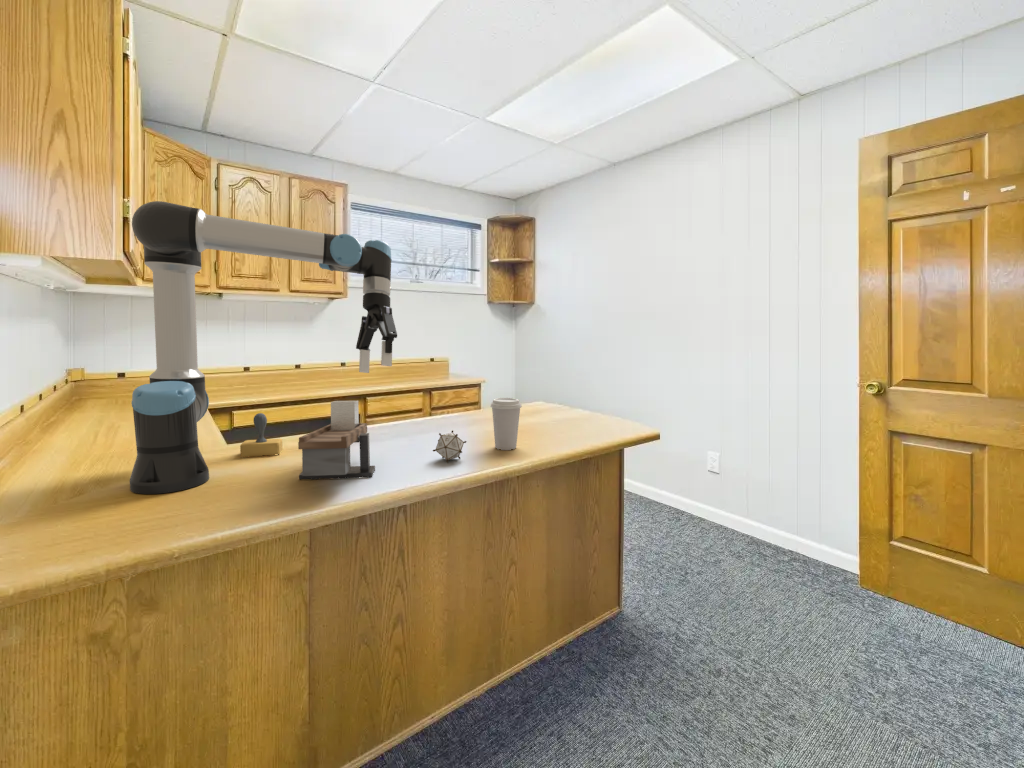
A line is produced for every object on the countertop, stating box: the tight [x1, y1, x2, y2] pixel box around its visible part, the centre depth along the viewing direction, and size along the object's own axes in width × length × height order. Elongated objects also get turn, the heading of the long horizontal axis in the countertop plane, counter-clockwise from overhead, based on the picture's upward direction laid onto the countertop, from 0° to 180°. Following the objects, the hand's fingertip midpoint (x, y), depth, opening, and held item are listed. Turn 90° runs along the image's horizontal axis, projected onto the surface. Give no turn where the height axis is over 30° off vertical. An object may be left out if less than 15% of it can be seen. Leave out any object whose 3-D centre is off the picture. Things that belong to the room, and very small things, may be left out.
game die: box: [432, 429, 467, 464], centre depth 135 cm, size 9×8×10 cm
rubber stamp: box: [239, 412, 284, 458], centre depth 139 cm, size 10×6×12 cm, turn 106°
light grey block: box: [330, 400, 360, 431], centre depth 130 cm, size 6×6×8 cm
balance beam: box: [297, 422, 368, 476], centre depth 120 cm, size 30×10×8 cm, turn 8°
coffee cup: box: [490, 397, 523, 451], centre depth 148 cm, size 10×10×15 cm
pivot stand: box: [298, 432, 376, 480], centre depth 120 cm, size 6×17×10 cm, turn 98°
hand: (374, 369), depth 134 cm, fingers open, 13 cm apart
